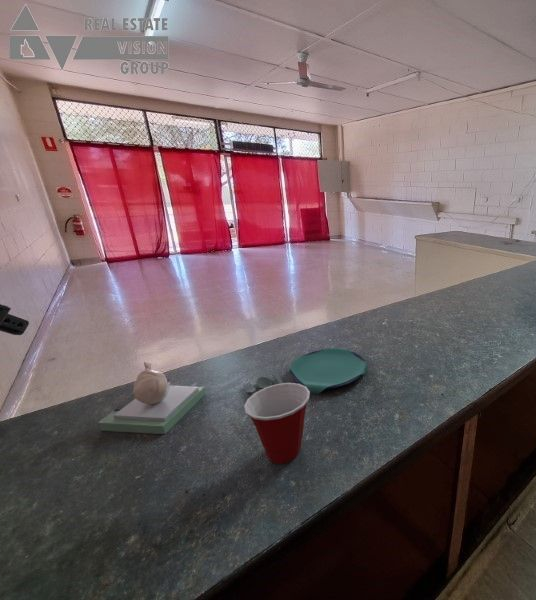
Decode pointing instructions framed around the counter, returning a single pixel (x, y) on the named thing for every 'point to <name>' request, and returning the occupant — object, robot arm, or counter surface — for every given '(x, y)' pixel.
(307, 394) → the plastic cup
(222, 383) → the counter surface
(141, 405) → the scale
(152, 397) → the garlic bulb
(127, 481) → the counter surface
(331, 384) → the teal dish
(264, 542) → the counter surface
